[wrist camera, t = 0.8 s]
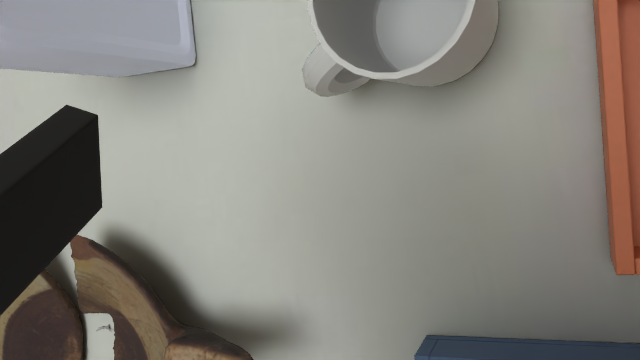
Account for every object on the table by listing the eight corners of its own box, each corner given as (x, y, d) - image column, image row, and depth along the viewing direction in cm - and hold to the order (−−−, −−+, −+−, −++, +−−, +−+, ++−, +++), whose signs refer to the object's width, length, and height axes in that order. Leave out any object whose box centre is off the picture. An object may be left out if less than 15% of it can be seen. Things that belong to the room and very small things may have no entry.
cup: (529, 29, 30) (517, -2, 22) (379, 142, 33) (321, 152, 25) (447, -77, 31) (406, -145, 22) (311, 45, 34) (233, 24, 26)
